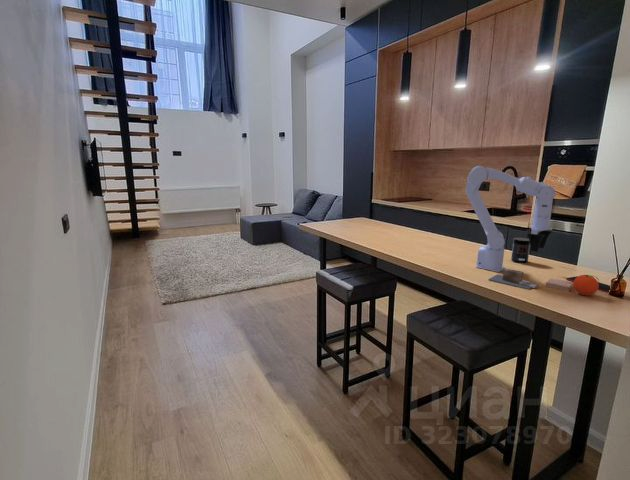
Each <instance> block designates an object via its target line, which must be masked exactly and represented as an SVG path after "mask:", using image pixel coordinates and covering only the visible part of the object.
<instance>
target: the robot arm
mask: <svg viewBox="0 0 630 480" xmlns="http://www.w3.org/2000/svg"><path fill="white" fill-rule="evenodd" d="M486 179H487V181H489V180H498V181H500V182H503V183H506V184H508V185H511V186H514V187H515V190H516V191H518V192H520V193H523V194H525V195H529V196H531V197H536V199H535V203H534V209H533V217H532V223H531V224H532V225H531V227H530V228H531V231H530V232H526V235H527V238H528V239H529V240H530V251H531V252H535V253H536V252H539V249H544V248H545V245H546V243H547V240H548V239H549V237H550V235H551V234H552V230H553V227H550V224H551V217H552V210H553V209H552V208H553V199H555V197H556V195H557V193H556V190H555V188H554V187H552V186H551V185H548V184H546V183H545V182H544V181H541V182H540V181H538V180H535V179H533V178H532V177H531V176H523V177H520V178H519V177H517V176H513V175H511V174H508V173H506V172H505V171H501V170H498V169H496V168H491V167H484V166H482V165H476V166H475V167H473V168H471V170H470V172H469V174H468V175H467V180H466V184H465V189H464V191H465V192H464V193H465V195H466V196H467V198H468V200H469V202H470V205H471V207H472V209H473V210H474V213H475V214H476V217H477V218H478V220H479V223H480V224H481V226H482V228H483V231H484V233H485V236H486V240H487V244H486V245H485V246H484V245H481V246H480V247H479V249H478V252H477V260H476V266H475V267H476V268H478V269H482V270H483V269H484V270H487V271H488V270H489V271H493V272H497V273H500V272H502V271H504V269H507V267H506V266H503V264H504V255H505V247H504V246H505V244H506V239H505V238H504V234H503V232H501V231H500V230H498V228H497V225H496V224H495V222H494V220H493V218H492V217H491V214H490V212H489V211H488V208H487V207H486V204H485V203H484V201H483V198H482V196H481V195H480V192H479V189H480V187H481V184H483V182H484V181H485V180H486Z"/></svg>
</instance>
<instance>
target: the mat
mask: <svg viewBox="0 0 630 480" xmlns="http://www.w3.org/2000/svg"><path fill="white" fill-rule="evenodd" d="M487 280H488V281H490V282H493V283H494V282H495V283H498V284H502V285H507V286H512V287H516V288H521V289H524V290H528V291H529V290H531V289H532V287H528V286H524V285H519V284H518V283H514V282H509V281H505V280H503V274H495V275H494V276H492V277H490V278H488V279H487ZM523 280H525V281H527V280H526V279H523ZM523 280H522V281H523ZM529 281H530V282H532V281H531V280H529ZM533 282H534V283H536V282H535V281H533Z"/></svg>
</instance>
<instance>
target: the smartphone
mask: <svg viewBox="0 0 630 480" xmlns="http://www.w3.org/2000/svg"><path fill="white" fill-rule="evenodd" d="M578 276H579V275H577V276H570V277H566V278H565V281H568V282H574V280H575V278H577V277H578ZM598 284H599V288H598V290H597V291H600V290H601V292H604V293H608V292H609V290H610V286H611V285H609V284H605V283H603V282H600V281H598ZM609 293H610V292H609Z"/></svg>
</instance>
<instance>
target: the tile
mask: <svg viewBox="0 0 630 480" xmlns="http://www.w3.org/2000/svg"><path fill="white" fill-rule="evenodd" d="M545 286H546V287H547V288H551V289H556V290H561V291H565V292H570V291H571V290H572V289H573V288H574V287H573V282H571V281H568V280H562V279H558V278H553V277H550V279H548V280H547V281H546V282H545ZM546 287H545V288H546Z"/></svg>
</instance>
